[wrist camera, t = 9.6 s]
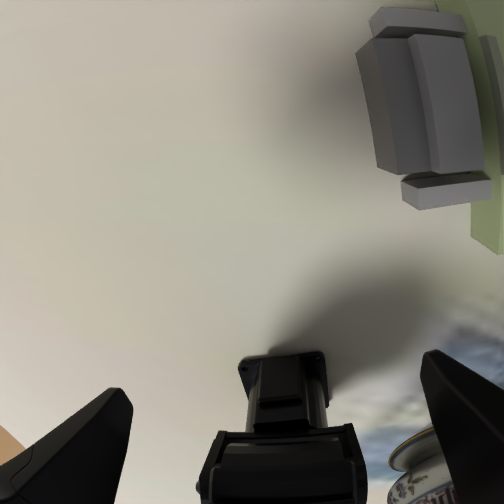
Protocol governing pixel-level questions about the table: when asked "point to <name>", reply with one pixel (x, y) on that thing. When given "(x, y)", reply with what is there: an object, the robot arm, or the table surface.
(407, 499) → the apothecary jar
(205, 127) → the table surface
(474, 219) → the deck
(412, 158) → the grey stepped block
